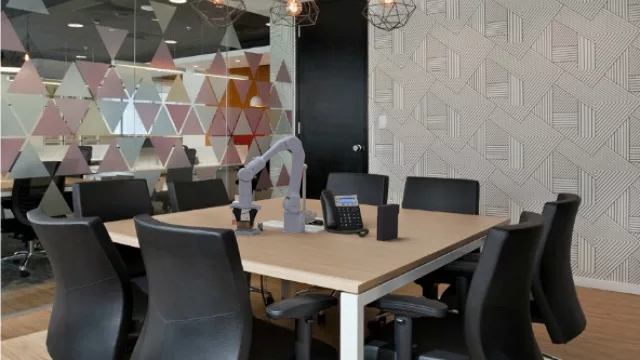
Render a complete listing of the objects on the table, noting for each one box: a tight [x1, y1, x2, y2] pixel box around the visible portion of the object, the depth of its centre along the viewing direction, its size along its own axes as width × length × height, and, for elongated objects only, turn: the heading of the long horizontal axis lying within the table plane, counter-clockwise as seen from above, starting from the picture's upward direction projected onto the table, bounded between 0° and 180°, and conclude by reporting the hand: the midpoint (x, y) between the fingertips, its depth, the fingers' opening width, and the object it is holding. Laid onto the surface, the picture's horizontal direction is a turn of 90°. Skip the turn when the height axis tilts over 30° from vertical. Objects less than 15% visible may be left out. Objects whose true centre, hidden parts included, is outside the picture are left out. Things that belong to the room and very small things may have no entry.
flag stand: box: [299, 163, 318, 225], centre depth 287 cm, size 13×13×30 cm
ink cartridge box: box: [231, 194, 251, 226], centre depth 277 cm, size 9×5×15 cm, turn 84°
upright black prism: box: [376, 203, 400, 242], centre depth 243 cm, size 11×4×15 cm, turn 134°
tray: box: [234, 227, 261, 236], centre depth 252 cm, size 10×10×2 cm
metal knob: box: [257, 222, 267, 232], centre depth 260 cm, size 5×5×4 cm
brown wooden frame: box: [236, 220, 255, 229], centre depth 252 cm, size 7×6×3 cm
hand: (245, 225), depth 252 cm, fingers closed on brown wooden frame, 6 cm apart
